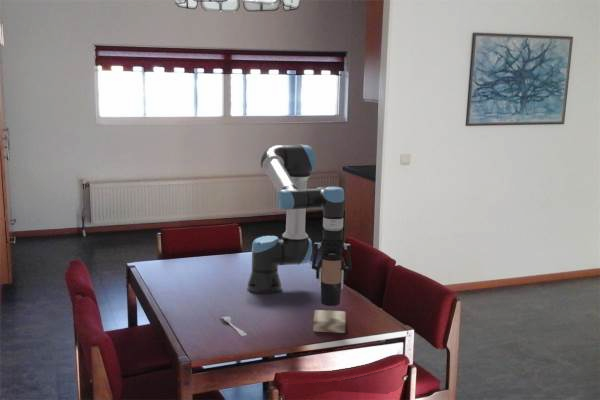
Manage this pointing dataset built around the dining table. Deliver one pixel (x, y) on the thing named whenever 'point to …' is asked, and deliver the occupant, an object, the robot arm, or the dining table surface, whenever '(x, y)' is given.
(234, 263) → the dining table surface
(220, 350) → the dining table surface
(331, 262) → the travel mug
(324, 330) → the stand
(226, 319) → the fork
